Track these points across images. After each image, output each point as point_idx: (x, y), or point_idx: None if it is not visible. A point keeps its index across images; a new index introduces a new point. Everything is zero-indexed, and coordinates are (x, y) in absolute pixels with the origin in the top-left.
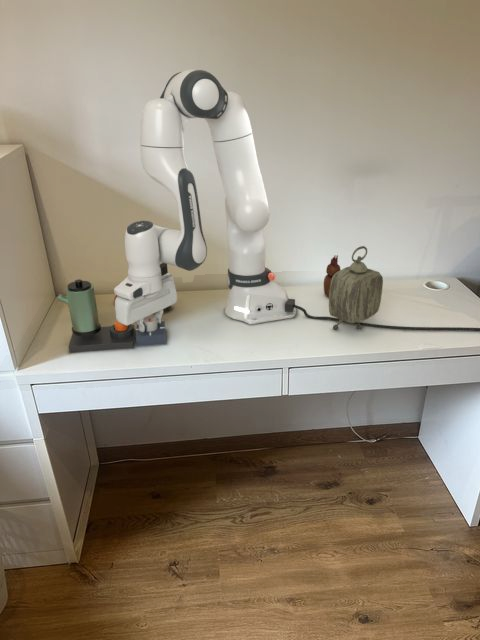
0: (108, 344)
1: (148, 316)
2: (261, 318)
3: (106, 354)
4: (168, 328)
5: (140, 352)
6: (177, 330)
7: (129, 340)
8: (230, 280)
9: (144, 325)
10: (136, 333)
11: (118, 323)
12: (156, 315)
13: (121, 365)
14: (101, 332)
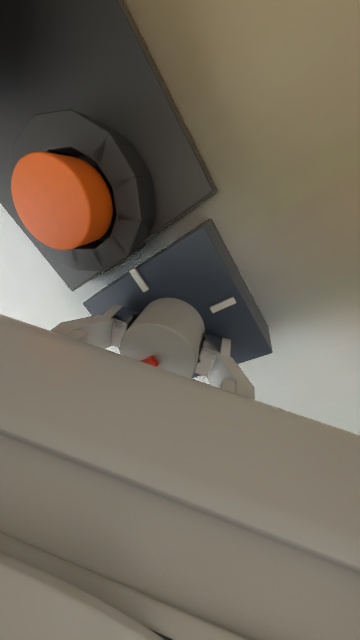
0: (1, 201)
1: (183, 342)
2: None
3: (3, 211)
4: (288, 331)
5: (85, 316)
6: (277, 367)
7: (73, 274)
8: None
9: (115, 342)
10: (105, 291)
11: (33, 197)
12: (220, 370)
13: (4, 301)
14: (34, 43)
